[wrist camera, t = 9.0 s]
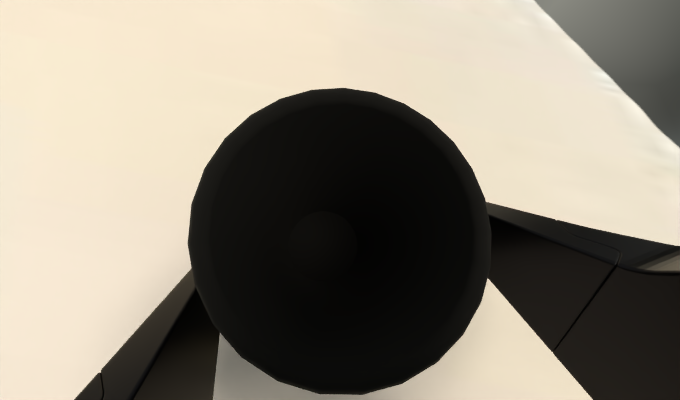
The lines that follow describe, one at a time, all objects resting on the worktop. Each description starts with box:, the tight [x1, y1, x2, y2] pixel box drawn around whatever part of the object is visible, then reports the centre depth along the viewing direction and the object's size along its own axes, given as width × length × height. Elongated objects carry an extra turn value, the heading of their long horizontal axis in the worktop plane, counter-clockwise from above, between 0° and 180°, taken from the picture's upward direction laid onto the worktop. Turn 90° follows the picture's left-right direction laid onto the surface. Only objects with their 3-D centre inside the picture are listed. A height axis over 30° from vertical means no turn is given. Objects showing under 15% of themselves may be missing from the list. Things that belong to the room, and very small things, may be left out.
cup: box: [188, 88, 491, 395], centre depth 12 cm, size 8×8×12 cm
